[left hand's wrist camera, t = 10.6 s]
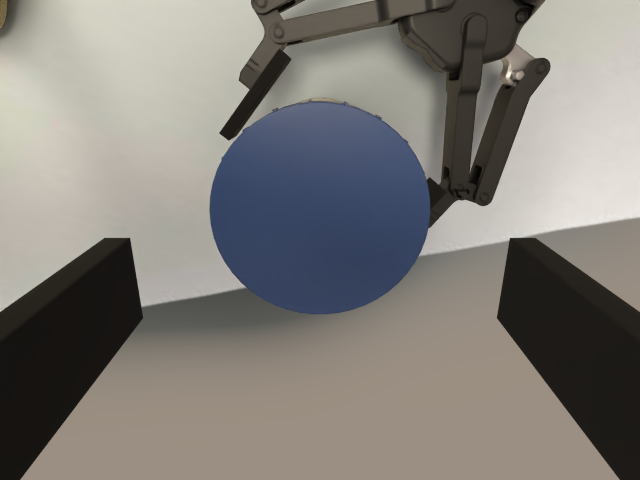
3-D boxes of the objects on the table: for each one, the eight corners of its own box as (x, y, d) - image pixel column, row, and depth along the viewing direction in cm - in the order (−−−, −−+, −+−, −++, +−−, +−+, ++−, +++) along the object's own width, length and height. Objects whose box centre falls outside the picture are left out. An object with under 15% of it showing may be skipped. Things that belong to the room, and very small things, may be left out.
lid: (217, 92, 19) (206, 92, 17) (436, 108, 19) (448, 110, 17) (219, 290, 22) (210, 308, 21) (406, 302, 23) (413, 321, 21)
